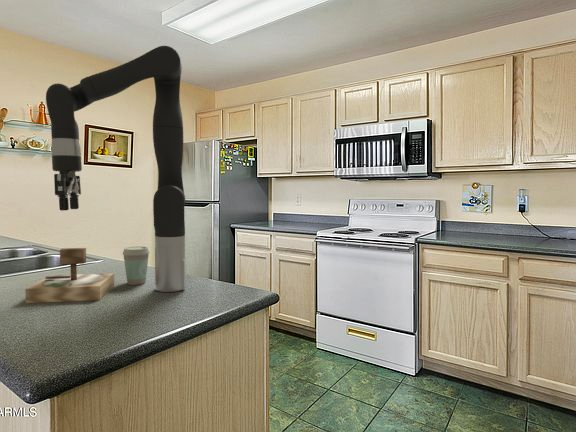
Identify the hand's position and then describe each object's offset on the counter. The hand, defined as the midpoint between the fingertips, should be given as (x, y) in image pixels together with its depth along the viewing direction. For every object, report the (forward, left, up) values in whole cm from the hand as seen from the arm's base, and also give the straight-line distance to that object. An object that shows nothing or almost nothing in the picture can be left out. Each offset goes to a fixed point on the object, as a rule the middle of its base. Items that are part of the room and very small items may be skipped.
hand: (69, 209), depth 112 cm
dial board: (-1, 0, -26) cm, 26 cm away
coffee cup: (-17, -11, -26) cm, 33 cm away
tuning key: (+1, 0, -21) cm, 21 cm away
